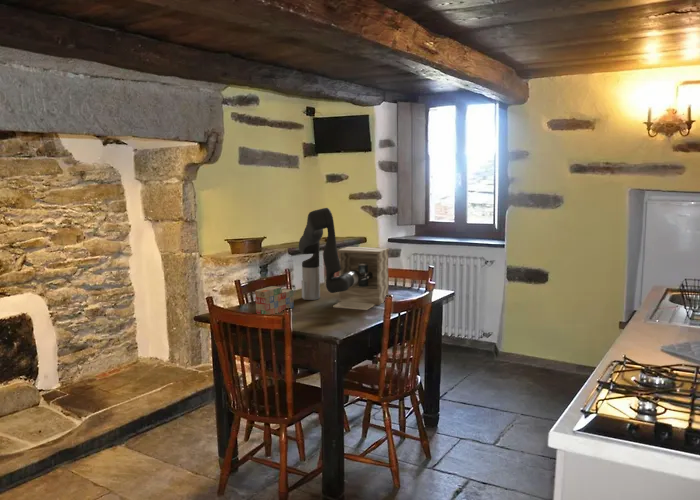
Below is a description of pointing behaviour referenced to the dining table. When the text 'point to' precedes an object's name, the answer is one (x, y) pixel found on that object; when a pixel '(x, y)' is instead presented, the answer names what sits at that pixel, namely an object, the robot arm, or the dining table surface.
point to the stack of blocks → (273, 300)
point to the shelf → (376, 265)
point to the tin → (363, 268)
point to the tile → (354, 305)
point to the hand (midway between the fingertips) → (363, 273)
